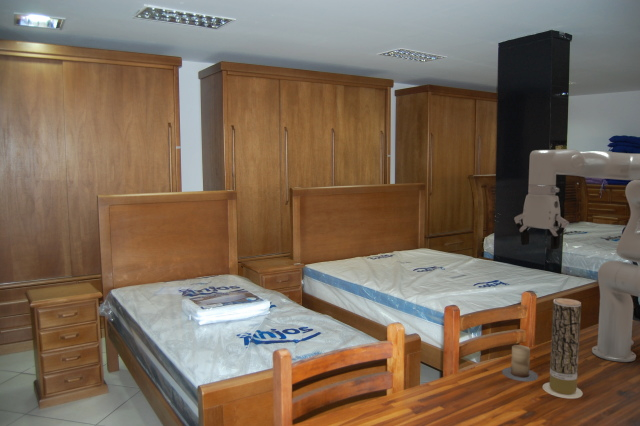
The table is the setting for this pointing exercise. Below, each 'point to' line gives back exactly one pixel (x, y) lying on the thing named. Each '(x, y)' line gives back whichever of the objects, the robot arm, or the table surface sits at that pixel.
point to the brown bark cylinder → (565, 345)
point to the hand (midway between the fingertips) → (539, 246)
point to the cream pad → (552, 392)
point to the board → (531, 377)
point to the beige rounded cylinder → (520, 361)
